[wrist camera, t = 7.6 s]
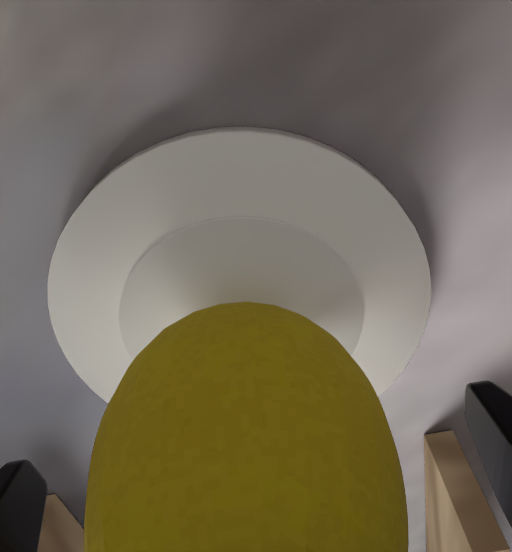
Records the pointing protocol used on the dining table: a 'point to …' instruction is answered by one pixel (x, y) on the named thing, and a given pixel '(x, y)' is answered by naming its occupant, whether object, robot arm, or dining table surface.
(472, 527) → the oak frame
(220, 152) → the saucer
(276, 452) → the lemon
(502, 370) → the dining table surface
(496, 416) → the robot arm
